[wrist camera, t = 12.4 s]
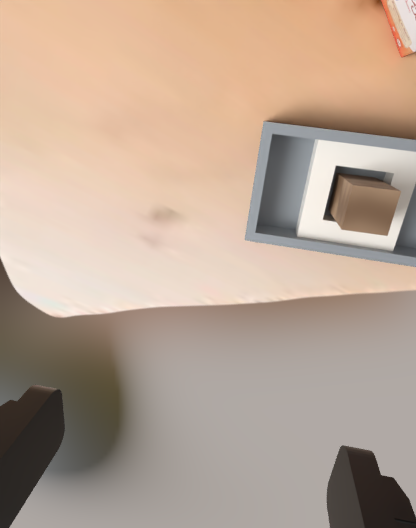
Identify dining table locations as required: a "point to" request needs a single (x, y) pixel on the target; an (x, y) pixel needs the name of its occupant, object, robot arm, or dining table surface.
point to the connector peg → (363, 204)
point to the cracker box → (402, 23)
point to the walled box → (329, 191)
